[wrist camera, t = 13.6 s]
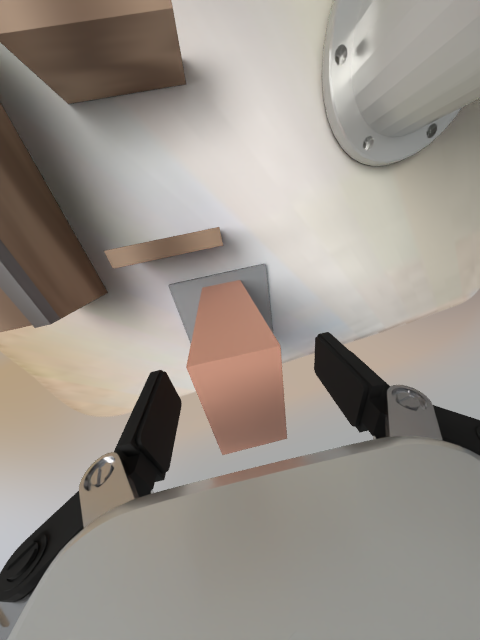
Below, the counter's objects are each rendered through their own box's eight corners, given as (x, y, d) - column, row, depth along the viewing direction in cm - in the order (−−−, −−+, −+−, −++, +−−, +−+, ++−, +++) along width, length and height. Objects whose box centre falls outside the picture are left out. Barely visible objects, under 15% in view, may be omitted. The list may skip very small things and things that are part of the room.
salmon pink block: (240, 279, 18) (280, 345, 7) (249, 335, 21) (287, 438, 10) (202, 287, 18) (186, 367, 7) (217, 342, 21) (222, 455, 10)
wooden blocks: (167, -4, 10) (102, -341, 4) (225, 267, 18) (232, 283, 12) (-118, 37, 10) (-675, -294, 4) (66, 301, 17) (-14, 338, 11)
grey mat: (264, 263, 18) (265, 264, 18) (272, 335, 22) (273, 337, 22) (169, 284, 18) (168, 285, 17) (195, 353, 22) (195, 355, 21)
